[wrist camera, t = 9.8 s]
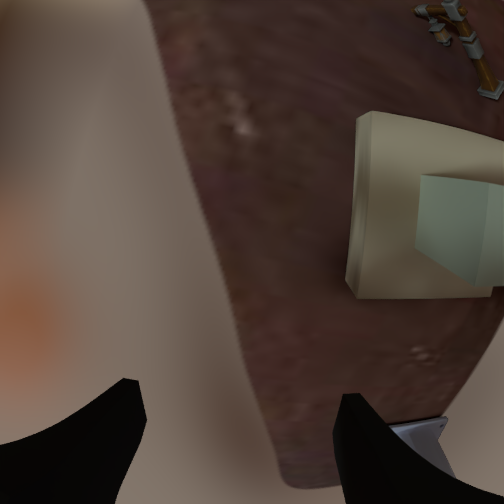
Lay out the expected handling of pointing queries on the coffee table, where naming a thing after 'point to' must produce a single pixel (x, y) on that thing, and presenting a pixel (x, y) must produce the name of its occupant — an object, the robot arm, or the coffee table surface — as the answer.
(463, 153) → the beige flat square block
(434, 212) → the sage block
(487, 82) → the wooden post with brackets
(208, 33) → the coffee table surface
